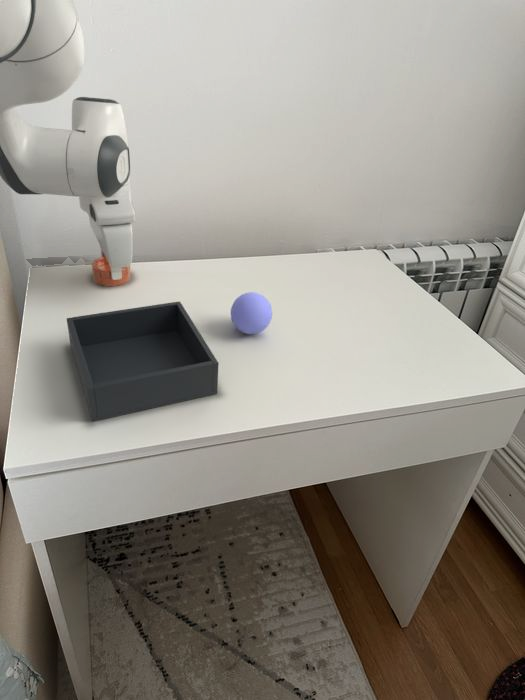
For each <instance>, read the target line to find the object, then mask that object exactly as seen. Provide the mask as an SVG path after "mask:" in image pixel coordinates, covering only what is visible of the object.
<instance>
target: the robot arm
mask: <svg viewBox="0 0 525 700" xmlns="http://www.w3.org/2000/svg"><path fill="white" fill-rule="evenodd" d="M85 59H86V46H85V38H84V32H83V29H82V25H81V20H80V17H79V14H78V12H77V8H76V6H75V2H74V0H0V178H1V180H2V181H3V182H4V184H6V185H7V186H8V187H9V189H12V191H14V192H15V193H16V194H18V195H50V196H51V195H53V196H65V197H75V198H76V197H78V201H79V208H80V210H82V211H83V212H85V213H86V214H87V216H88V219H89V224H90V228H91V230H92V232H93V234H94V236H95V238H96V240H97V242H98V245H99V248H100V254H101V257H103V256H105V257H106V259H107V261H108V263H109V265H110V275H111V277H112V279H113V280H119V279H121V278H122V272H121V271H122V268H123V267H129V266H130V267H131V265H132V262H133V245H134V244H133V243H134V241H133V237H134V236H133V225H132V223H136V213H135V208H134V206H133V199H132V187H131V157H130V156H131V155H130V148H129V139H128V131H127V126H126V125H127V124H126V119H125V114H124V110H123V107H122V104H121V103H119V102H118V101H117V100H115V99H111V98H100V97H91V96H89V97H88V96H79V97H76V98H74V99H73V100H72V103H71V104H72V105H71V129H63V128H51V127H44V126H43V127H42V126H37V125H34V124H33V125H32V124H30V123H27V122H25V121H24V120H23V117H22V113H21V110H20V107H21V106H26V105H33V104H41V103H47V102H50V101H53V100H55V99H57V98H58V97H60V96H62V95H64V94H65V93H66V92H67V91H69V89H71V87H72V86H73V85H74V84H75V82H77V80H78V78H79V77H80V75H81V73H82V70H83V67H84V64H85Z"/></svg>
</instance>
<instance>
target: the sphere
mask: <svg viewBox="0 0 525 700" xmlns="http://www.w3.org/2000/svg"><path fill="white" fill-rule="evenodd" d="M230 318H231V322H232V325H234V327H235V328H236V329H237V330H238V331H240V332H241V333H243V334H246V335H256V334H259V333H262V332H264V331H265V330H266V329H267V328H268V327H269V326H270V323H271V321H272V319H273V309H272V305H271V303H270V301H269V300H268V299H267V298H266V297H265V296H263V294H260V293H258V292H251V291H249V292H245V293H243V294H240V295H239V296H238V297H236V299H235V300H234V301H233V303H232V306H231V307H230Z"/></svg>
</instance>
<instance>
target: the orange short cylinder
mask: <svg viewBox="0 0 525 700" xmlns="http://www.w3.org/2000/svg"><path fill="white" fill-rule="evenodd" d="M91 270H92V271H91V272H92V277H93V281H94V282H95V283H96V284H98V285H101V286H104V287H116V286H121V285H125V284H126V283H128V282H129V281H130V279H131V265H130V266H129V267H123V268H122V271H121V272H122V278H121V279H119V280H113V279H112V277H111V275H110V265H109V263H108V261H107V259H106V257H105V256H103V257H102V256H101V257H98V258H95V259H93V261H92V262H91Z"/></svg>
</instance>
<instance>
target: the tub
mask: <svg viewBox="0 0 525 700" xmlns="http://www.w3.org/2000/svg"><path fill="white" fill-rule="evenodd" d="M66 325H67V331H68V332H67V333H68V338H69V344H70V350H71V354H72V357H73V360H74V361H73V362H74V364H75V368H76V371H77V375H78V378H79V382H80V385H81V389H82V392H83V395H84V399H85V403H86V406H87V409H88V413H89V416H90V420H91V422H92V423H93V422H98V421H103V420H107V419H111V418H115V417H120V416H125V415H129V414H134V413H138V412H143V411H146V410H147V411H148V410H151V409H152V410H153V409H156V408H161V407H165V406H169V405H173V404H179V403H182V402H187V401H191V400H196V399H199V398H200V399H202V398H204V397H209V396H215V395H217V394H218V383H219V361H218V360H217V358H216V357H215V354H214V353H213V352H212V350H211V348H210V347H209V345H208V344H207V342H206V340H205V339H204V338H203V336H202V334H201V332H200V331H199V329H198V327H197V326H196V325H195V323H194V322H193V320H192V319H191V317H190V315H189V314H188V312H187V310H186V309H185V307H184V305H183V304H182V303H181V301H172V302H165V303H158V304H152V305H145V306H138V307H132V308H126V309H119V310H113V311H106V312H105V311H104V312H99V313H92V314H85V315H78V316H72V317H67V318H66Z"/></svg>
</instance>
